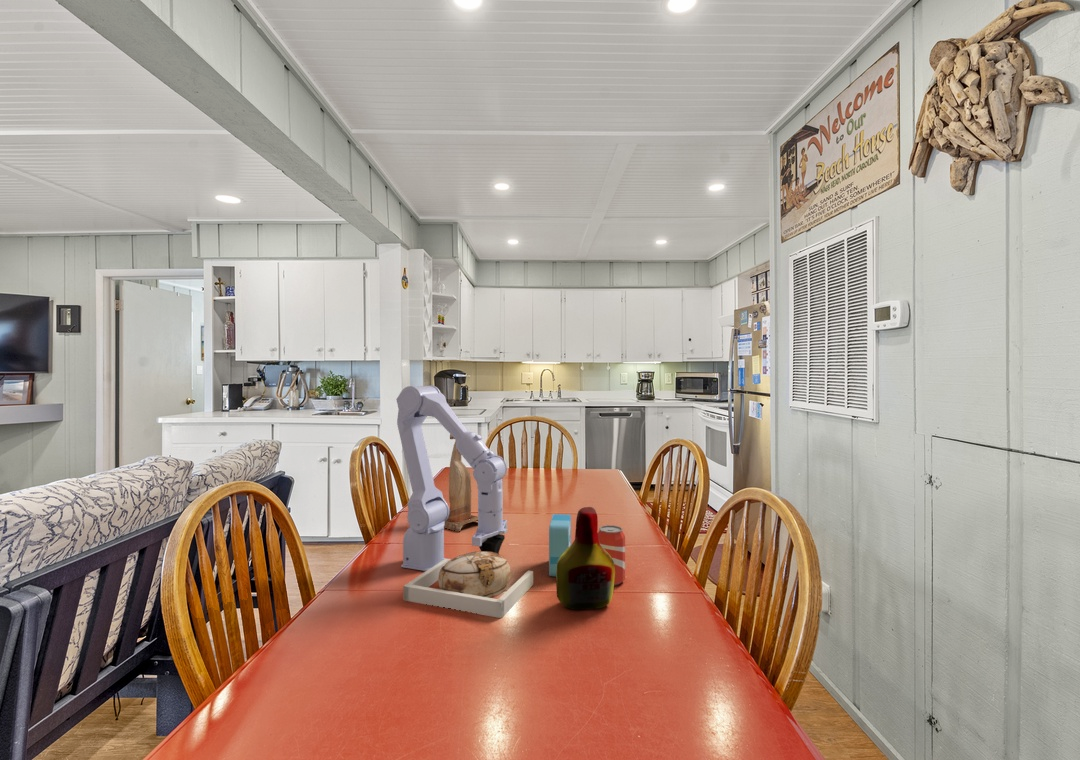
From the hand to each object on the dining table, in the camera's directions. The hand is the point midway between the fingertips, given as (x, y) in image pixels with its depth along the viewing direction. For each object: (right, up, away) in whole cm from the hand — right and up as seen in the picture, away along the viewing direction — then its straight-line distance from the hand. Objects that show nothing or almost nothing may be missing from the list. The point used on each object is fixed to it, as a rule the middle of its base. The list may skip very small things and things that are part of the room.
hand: (490, 567), depth 121 cm
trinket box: (-3, -2, -8) cm, 9 cm away
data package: (+16, -2, +4) cm, 17 cm away
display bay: (-4, -2, -10) cm, 11 cm away
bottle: (+21, -2, -16) cm, 26 cm away
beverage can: (+28, -2, -3) cm, 28 cm away
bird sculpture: (-13, -2, +40) cm, 42 cm away
